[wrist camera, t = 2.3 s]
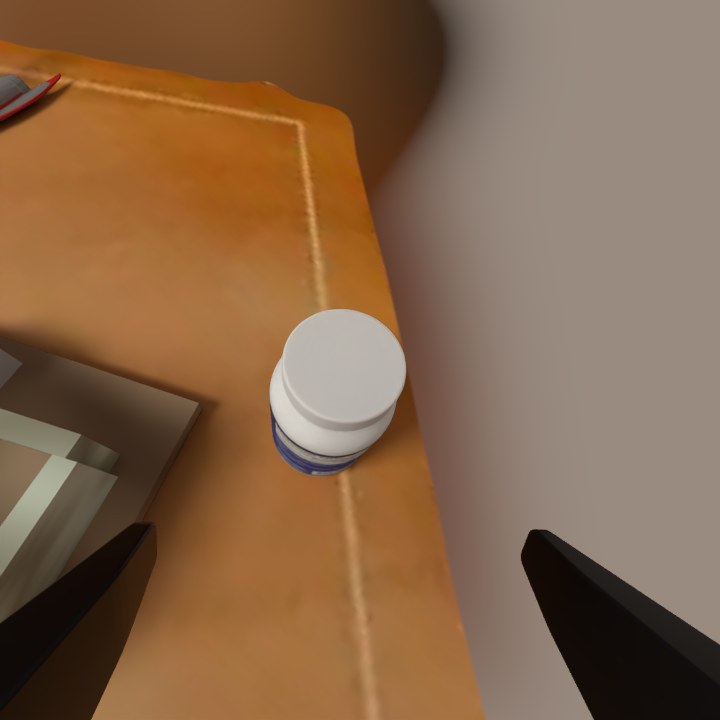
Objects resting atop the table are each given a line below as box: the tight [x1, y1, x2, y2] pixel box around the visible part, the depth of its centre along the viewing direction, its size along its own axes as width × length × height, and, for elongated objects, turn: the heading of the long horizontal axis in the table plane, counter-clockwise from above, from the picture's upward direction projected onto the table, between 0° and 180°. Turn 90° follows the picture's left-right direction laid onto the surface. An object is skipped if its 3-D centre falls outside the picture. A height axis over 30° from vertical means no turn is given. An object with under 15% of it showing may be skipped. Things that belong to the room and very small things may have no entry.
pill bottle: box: [269, 309, 406, 477], centre depth 17 cm, size 6×6×10 cm
